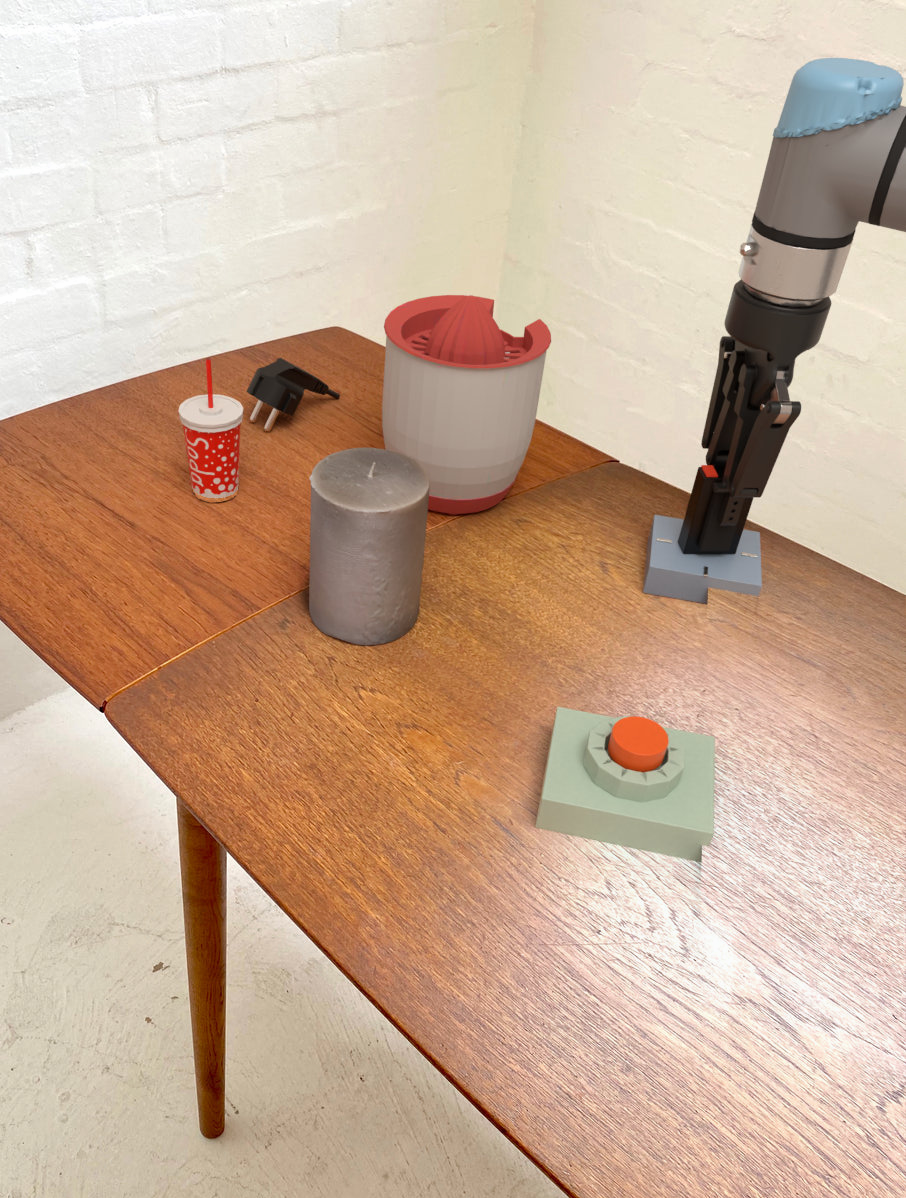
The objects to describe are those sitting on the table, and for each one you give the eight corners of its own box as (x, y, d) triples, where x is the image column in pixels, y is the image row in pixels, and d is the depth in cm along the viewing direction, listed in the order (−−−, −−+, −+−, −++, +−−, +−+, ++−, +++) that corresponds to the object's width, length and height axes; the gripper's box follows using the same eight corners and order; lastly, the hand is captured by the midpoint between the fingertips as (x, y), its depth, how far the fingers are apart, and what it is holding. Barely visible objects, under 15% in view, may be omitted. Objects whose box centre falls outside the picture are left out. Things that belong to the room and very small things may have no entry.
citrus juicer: (567, 484, 116) (602, 296, 102) (457, 547, 106) (480, 348, 93) (455, 428, 123) (474, 246, 110) (343, 482, 114) (350, 289, 100)
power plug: (357, 399, 125) (289, 363, 116) (326, 459, 127) (257, 429, 118) (325, 380, 128) (256, 344, 119) (295, 439, 130) (225, 409, 120)
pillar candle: (395, 572, 103) (406, 425, 93) (434, 636, 96) (451, 485, 86) (294, 589, 100) (294, 440, 90) (327, 656, 93) (331, 503, 83)
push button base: (704, 766, 86) (721, 719, 82) (702, 863, 78) (720, 816, 75) (550, 735, 87) (561, 688, 84) (534, 828, 80) (545, 780, 77)
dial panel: (751, 557, 108) (760, 529, 105) (752, 613, 101) (762, 584, 99) (647, 539, 109) (654, 512, 107) (642, 593, 102) (649, 565, 100)
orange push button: (664, 739, 81) (669, 722, 80) (662, 777, 78) (667, 760, 77) (609, 728, 82) (614, 711, 80) (605, 766, 79) (610, 748, 78)
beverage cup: (174, 484, 112) (163, 352, 102) (228, 469, 115) (222, 339, 105) (201, 513, 108) (192, 379, 99) (257, 497, 111) (253, 365, 101)
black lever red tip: (729, 542, 104) (753, 464, 98) (735, 554, 102) (760, 476, 97) (677, 541, 103) (698, 463, 98) (683, 554, 102) (705, 475, 96)
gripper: (709, 250, 92) (648, 496, 107) (770, 328, 81) (692, 589, 96) (796, 252, 92) (723, 496, 108) (869, 329, 81) (775, 589, 97)
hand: (708, 539), depth 102 cm, fingers closed on black lever red tip, 2 cm apart
